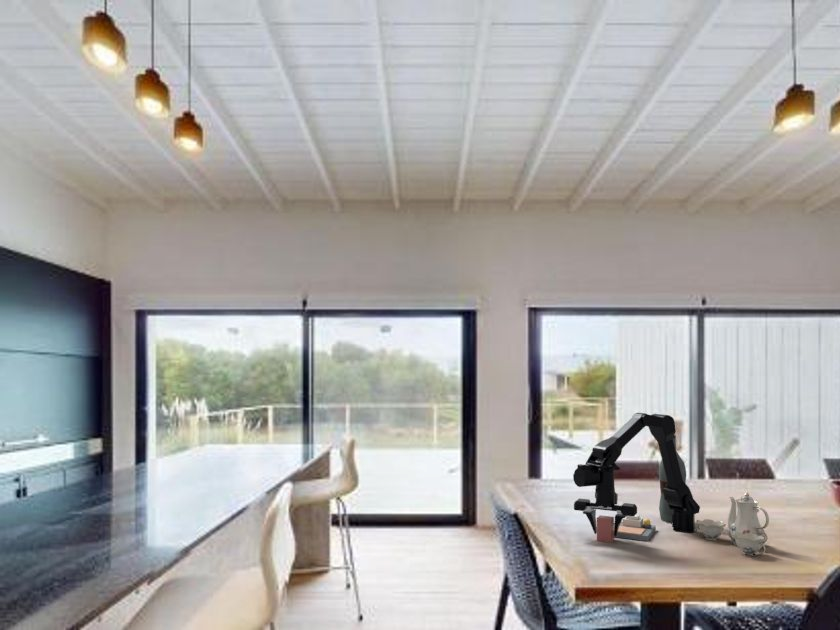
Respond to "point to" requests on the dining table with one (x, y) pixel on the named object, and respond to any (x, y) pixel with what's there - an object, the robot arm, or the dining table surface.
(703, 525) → the chinaware
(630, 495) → the dining table surface
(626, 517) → the block
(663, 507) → the bottle
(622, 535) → the panel
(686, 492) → the robot arm
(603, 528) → the red rectangular block
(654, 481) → the dining table surface
